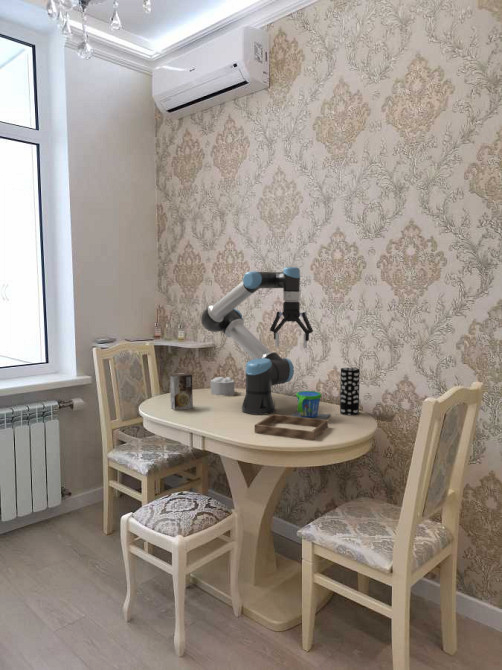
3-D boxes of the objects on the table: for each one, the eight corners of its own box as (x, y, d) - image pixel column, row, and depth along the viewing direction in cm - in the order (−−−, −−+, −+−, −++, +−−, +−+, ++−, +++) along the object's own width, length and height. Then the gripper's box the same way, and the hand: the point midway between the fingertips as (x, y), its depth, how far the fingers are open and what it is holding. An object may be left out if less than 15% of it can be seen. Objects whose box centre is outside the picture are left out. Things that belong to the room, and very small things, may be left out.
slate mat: (286, 420, 221) (286, 418, 220) (297, 412, 234) (297, 411, 234) (320, 423, 214) (320, 422, 214) (330, 415, 228) (330, 414, 228)
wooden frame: (254, 432, 202) (254, 425, 201) (272, 421, 219) (272, 414, 218) (313, 440, 192) (313, 432, 191) (327, 427, 209) (328, 420, 209)
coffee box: (188, 405, 248) (188, 372, 246) (193, 408, 242) (192, 374, 240) (170, 407, 244) (169, 373, 242) (174, 410, 238) (173, 375, 236)
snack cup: (308, 422, 215) (308, 397, 214) (287, 417, 222) (288, 394, 221) (328, 415, 227) (328, 392, 226) (308, 411, 234) (308, 389, 233)
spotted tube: (358, 415, 228) (359, 370, 226) (339, 414, 230) (340, 370, 228) (358, 411, 236) (359, 368, 234) (340, 410, 238) (341, 367, 236)
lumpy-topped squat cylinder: (222, 390, 283) (222, 375, 283) (239, 394, 275) (239, 377, 274) (208, 393, 276) (208, 377, 275) (225, 397, 267) (225, 380, 266)
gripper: (263, 301, 239) (263, 346, 240) (315, 301, 228) (314, 349, 230) (269, 300, 245) (269, 345, 247) (320, 301, 235) (319, 347, 237)
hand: (291, 347), depth 239 cm, fingers open, 13 cm apart
